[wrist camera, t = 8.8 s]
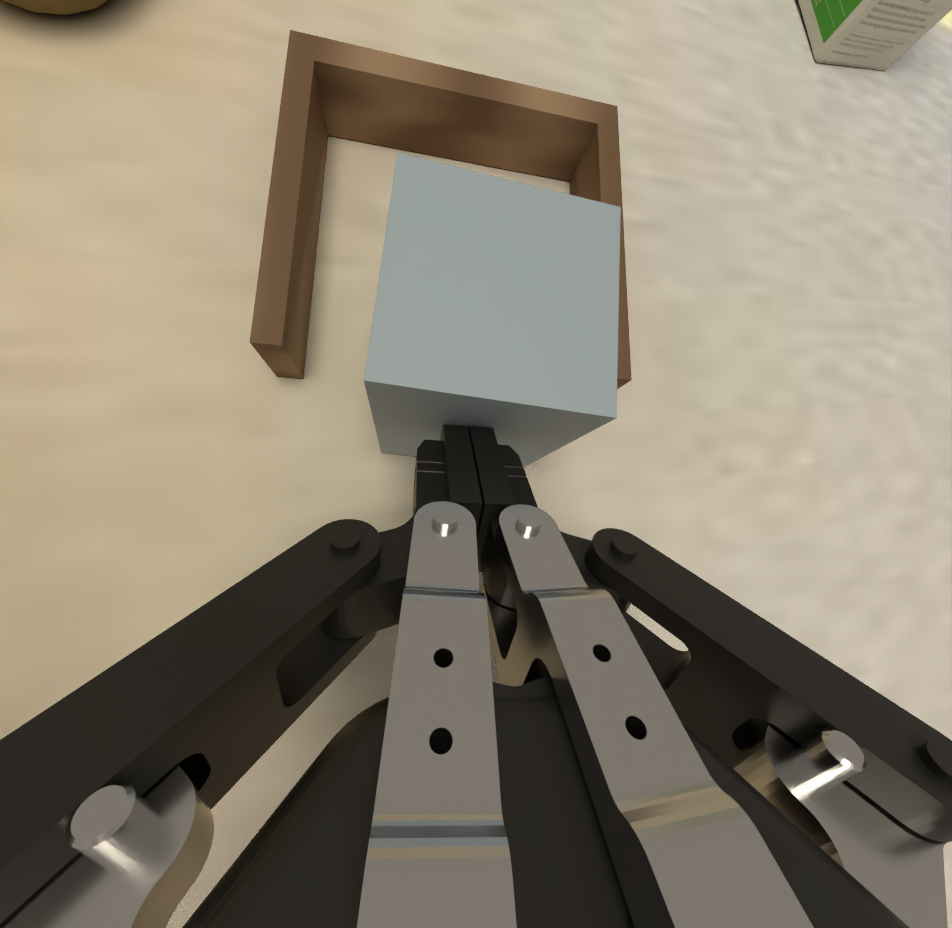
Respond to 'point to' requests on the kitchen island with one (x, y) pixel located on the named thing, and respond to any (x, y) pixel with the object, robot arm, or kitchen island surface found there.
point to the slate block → (493, 312)
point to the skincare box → (868, 29)
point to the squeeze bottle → (57, 5)
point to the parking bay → (419, 130)
